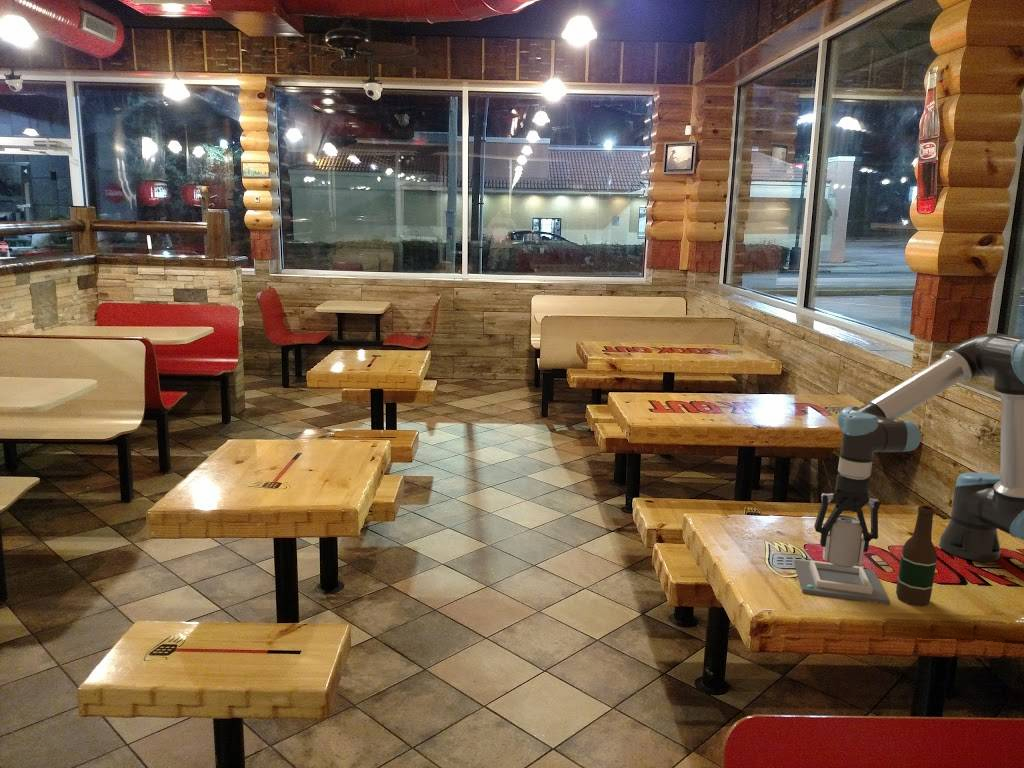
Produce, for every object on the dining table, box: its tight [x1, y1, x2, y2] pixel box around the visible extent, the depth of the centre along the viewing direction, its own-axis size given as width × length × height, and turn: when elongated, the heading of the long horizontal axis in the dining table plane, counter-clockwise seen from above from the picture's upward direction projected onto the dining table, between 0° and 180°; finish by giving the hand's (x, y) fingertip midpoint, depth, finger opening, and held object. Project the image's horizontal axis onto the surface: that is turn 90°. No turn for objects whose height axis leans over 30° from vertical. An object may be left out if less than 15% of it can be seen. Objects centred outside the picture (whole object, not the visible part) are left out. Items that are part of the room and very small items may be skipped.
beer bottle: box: [895, 505, 938, 607], centre depth 189 cm, size 8×8×24 cm
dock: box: [793, 559, 891, 605], centre depth 199 cm, size 20×18×2 cm
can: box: [827, 514, 863, 568], centre depth 197 cm, size 8×8×12 cm
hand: (841, 560), depth 198 cm, fingers closed on can, 7 cm apart
